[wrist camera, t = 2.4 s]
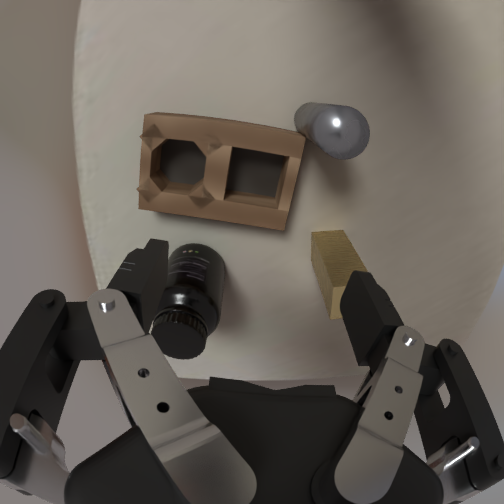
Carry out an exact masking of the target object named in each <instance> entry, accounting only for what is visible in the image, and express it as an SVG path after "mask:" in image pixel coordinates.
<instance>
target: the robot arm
mask: <svg viewBox="0 0 504 504" xmlns="http://www.w3.org/2000/svg"><path fill="white" fill-rule="evenodd" d="M168 249H169V244H168V241H164V240H157V239H150V240H149V242H148V243H147V245H146V247H145V248H144V249H139V248H137V249H135V250H134V251H132V252H130V253H129V254H128V255H127V256H126V258H125V260H124V261H123V263H122V264H121V266H120V268H119V269H118V270H117V272H116V273H115V275H114V277H113V278H112V280H111V281H110V283H109V285H108V286H107V288H106V289H101V290H98V291H96V292H94V293H93V294H92V295H91V296H90V297H89V299H88V301H85V302H66V299H65V296H64V294H63V293H62V292H60V291H58V290H53V289H50V290H44V291H41V292H40V293H38V294H36V295H35V296H34V297H33V299H32V300H31V302H30V303H29V304H28V306H27V307H26V309H25V310H24V312H23V313H22V315H21V316H20V318H19V320H18V321H17V323H16V324H15V326H14V327H13V329H12V331H11V333H10V334H9V336H8V337H7V339H6V341H5V342H4V344H3V346H2V348H1V349H0V483H2V484H4V485H6V486H7V487H9V488H11V489H15V490H17V491H19V492H20V493H22V494H25V495H35V496H37V497H39V498H41V499H43V500H46V501H48V502H50V503H53V504H458V503H461V502H463V501H465V500H466V499H469V498H471V497H473V496H474V495H476V494H478V493H480V492H482V491H484V490H485V489H487V488H489V487H491V486H492V485H494V484H496V483H497V482H499V481H500V480H502V479H504V442H503V439H502V436H501V433H500V431H499V428H498V425H497V423H496V420H495V418H494V415H493V413H492V410H491V408H490V406H489V403H488V401H487V399H486V397H485V394H484V392H483V390H482V388H481V386H480V383H479V381H478V379H477V377H476V375H475V373H474V371H473V369H472V367H471V365H470V363H469V361H468V359H467V357H466V355H465V354H464V352H463V350H462V348H461V347H460V346H459V345H458V344H457V343H456V342H454V341H453V340H450V339H443V340H441V342H440V343H439V344H438V346H437V347H435V346H432V345H428V344H425V342H424V339H423V337H422V336H421V334H420V333H419V332H418V331H416V330H415V329H413V328H411V327H409V326H405V325H404V324H403V322H402V320H401V318H400V316H399V314H398V312H397V311H396V309H395V307H394V305H393V303H392V302H391V301H390V298H389V296H388V294H387V293H386V291H385V290H384V289H383V288H382V287H380V286H379V285H378V284H377V283H376V281H375V279H374V278H373V276H372V274H371V273H370V272H364V271H357V270H354V271H353V272H352V274H351V276H350V278H349V280H348V283H347V285H346V288H345V290H344V292H343V294H342V297H341V300H340V312H341V315H342V318H343V320H344V323H345V326H346V329H347V332H348V335H349V338H350V341H351V344H352V347H353V350H354V353H355V356H356V359H357V362H358V366H369V367H370V370H369V371H368V372H367V374H366V376H365V378H364V380H363V382H362V384H361V385H360V387H359V389H358V391H357V393H356V395H355V397H354V399H353V400H350V399H348V398H346V397H343V396H340V395H336V392H335V387H334V385H303V386H298V387H293V388H287V389H281V390H272V389H269V388H265V387H262V386H258V385H255V384H252V383H249V382H245V381H242V380H233V379H225V378H217V377H210V381H209V386H200V387H195V388H192V389H188V390H186V389H185V388H184V386H183V385H182V383H181V381H180V380H179V378H178V377H177V375H176V374H175V372H174V371H173V369H172V367H171V366H170V364H169V363H168V361H167V359H166V358H165V356H164V355H163V353H162V351H161V350H160V348H159V346H158V344H157V343H156V341H155V339H154V338H153V336H152V335H151V334H150V333H149V330H150V327H151V324H152V321H153V319H154V316H155V313H156V310H157V308H158V305H159V302H160V300H161V297H162V294H163V292H164V289H165V286H166V282H167V276H168ZM81 360H102V362H103V365H104V367H105V369H106V372H107V374H108V377H109V379H110V382H111V384H112V387H113V389H114V391H115V393H116V396H117V398H118V400H119V402H120V405H121V407H122V410H123V412H124V414H125V416H126V418H127V420H128V422H129V424H130V426H131V428H130V429H129V430H128V431H126V432H125V433H124V434H122V435H121V436H119V437H118V438H116V439H115V440H113V441H112V442H111V443H109V444H108V445H106V446H105V447H103V448H102V449H100V450H99V451H98V452H96V453H95V454H93V455H92V456H90V457H89V458H87V459H86V460H84V461H83V462H81V463H80V464H78V465H77V466H76V467H75V468H74V469H73V470H72V471H71V473H69V471H68V469H67V467H66V464H65V447H64V444H63V442H62V440H61V439H60V438H59V437H58V435H57V434H56V430H57V427H58V424H59V420H60V417H61V414H62V411H63V407H64V405H65V402H66V399H67V396H68V393H69V390H70V387H71V385H72V382H73V379H74V376H75V373H76V371H77V368H78V366H79V363H80V361H81ZM444 383H445V384H446V386H447V389H448V391H449V394H450V403H449V405H448V406H447V407H446V408H444V405H443V403H442V400H441V398H440V395H439V392H438V389H439V388H440V387H441V386H442V385H443V384H444ZM413 412H414V414H415V418H416V421H417V425H418V428H419V431H420V435H421V439H422V442H423V446H424V450H425V454H426V459H427V462H426V463H425V462H424V461H422V460H421V459H420V458H419V457H418V456H417V455H415V454H414V453H413V452H412V451H411V450H410V449H408V448H407V447H406V446H405V445H404V444H403V442H404V439H405V436H406V434H407V431H408V428H409V425H410V422H411V419H412V415H413Z"/></svg>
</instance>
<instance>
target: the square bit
mask: <svg viewBox="0 0 504 504" xmlns="http://www.w3.org/2000/svg"><path fill="white" fill-rule="evenodd" d="M311 261H312V264H313V267H314V270H315V273H316V277H317V280H318V283H319V286H320V289H321V292H322V295H323V298H324V302H325V305H326V308H327V311H328V315H329V318H330V320H332V319H340V318H342V315H341V312H340V300H341V297H342V294H343V292H344V290H345V288H346V285H347V283H348V280H349V278H350V276H351V274H352V272H353V271H354V270H357V271H364V272H368V271H367V269H366V268H365V266H364V264H363V263H362V261H361V259H360V257H359V256H358V254H357V252H356V251H355V249H354V247H353V246H352V244H351V242H350V241H349V239H348V237H347V236H346V234H345V233H344V231H343V230H335V231H321V232H312V237H311Z"/></svg>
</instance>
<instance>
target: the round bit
mask: <svg viewBox="0 0 504 504" xmlns="http://www.w3.org/2000/svg"><path fill="white" fill-rule="evenodd" d="M294 123H295V126H296V128H297V130H298V131H299V132H300V133H301V134H302V135H304V136H305V137H306V138H307V139H309V140H310V141H311V142H313V143H314V144H316V145H317V146H318V147H320V148H321V149H322V150H323V151H325V152H326V153H327V154H329V155H330V156H332V157H334V158H337V159H351V158H354V157H356V156H358V155H359V154H360V153H362V152H363V150H364V149H365V148H366V146H367V144H368V141H369V137H370V130H369V125H368V123H367V120H366V119H365V117H364V116H363V115H362V114H361V113H360V112H359V111H358V110H356V109H354V108H352V107H349V106H342V105H334V104H324V103H312V102H311V103H306V104H304V105H302V106H300V107H299V108H298V110H297V111H296V113H295V116H294Z"/></svg>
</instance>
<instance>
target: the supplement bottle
mask: <svg viewBox="0 0 504 504" xmlns="http://www.w3.org/2000/svg"><path fill="white" fill-rule="evenodd" d="M224 279H225V267H224V263H223V261H222V259H221V257H220V256H219V255H218V253H216V252H215V251H214V250H213V249H211V248H210V247H208V246H205V245H202V244H195V243H192V244H186V245H183V246H180V247H179V248H177V249H176V250H175V251H174V252H173V253H172V254H171V256H170V257H169V259H168V276H167V282H166V286H165V289H164V292H163V294H162V297H161V300H160V302H159V305H158V308H157V310H156V313H155V316H154V319H153V321H154V322H153V328H152V331H151V335H152V336H153V338H154V339H155V341H156V343H157V344H158V346H159V348H160V350H161V351H162V353H163V354H165V355H167V356H169V357H172V358H176V359H183V360H184V359H192V358H194V357H197V356H198V355H200V354H201V353H202V352H203V350H204V349H205V345H206V340H207V337H208V336H209V335H210V334H211V333H212V332H214V330H215V329H216V328H217V326H218V324H219V321H220V315H221V306H222V297H223V288H224Z"/></svg>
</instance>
